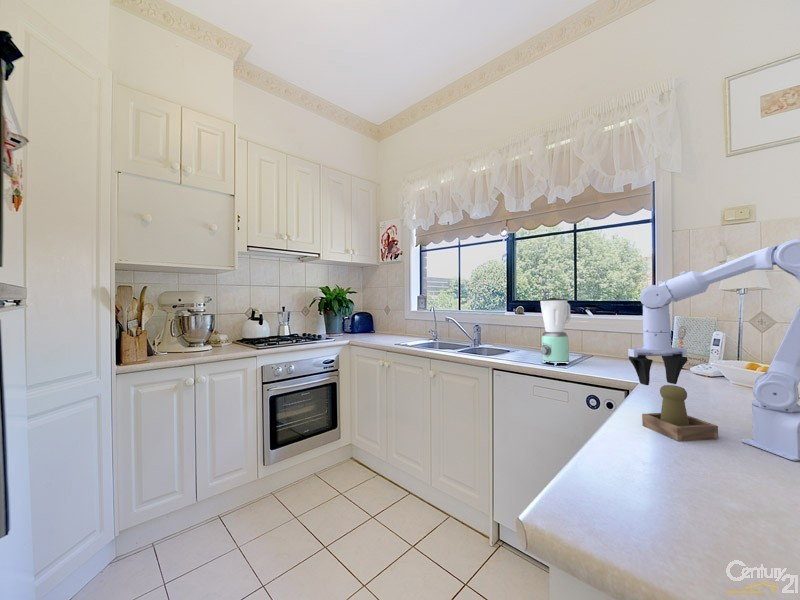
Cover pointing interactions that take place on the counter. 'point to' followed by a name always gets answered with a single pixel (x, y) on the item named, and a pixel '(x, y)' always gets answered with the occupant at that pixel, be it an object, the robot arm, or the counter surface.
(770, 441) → the robot arm
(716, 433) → the wooden tray
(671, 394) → the cork
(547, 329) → the mint green blender
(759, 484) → the counter surface
